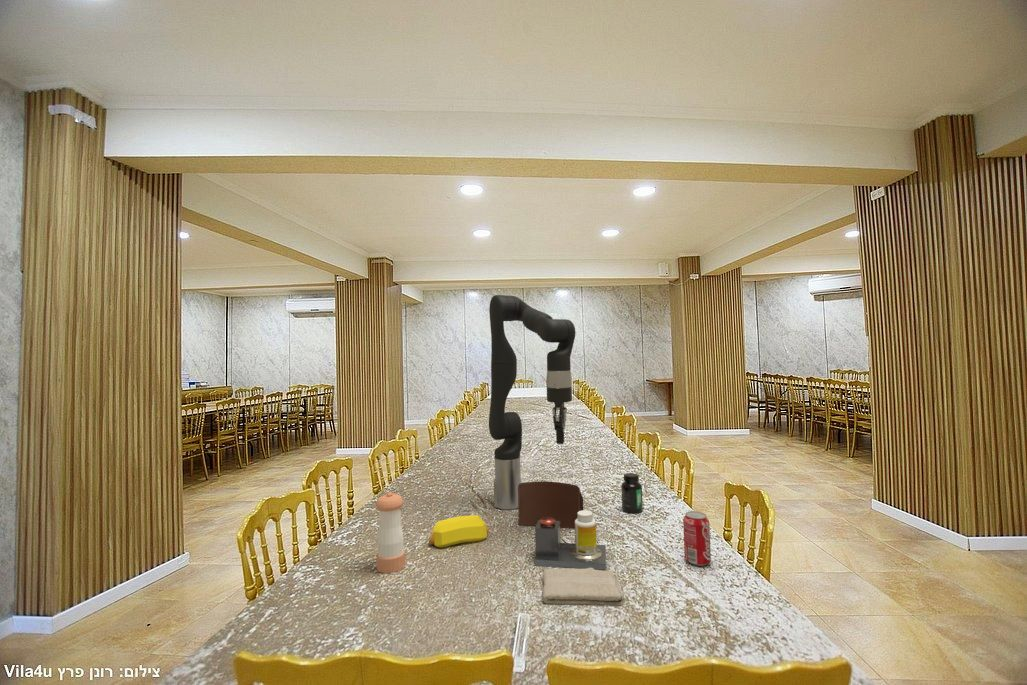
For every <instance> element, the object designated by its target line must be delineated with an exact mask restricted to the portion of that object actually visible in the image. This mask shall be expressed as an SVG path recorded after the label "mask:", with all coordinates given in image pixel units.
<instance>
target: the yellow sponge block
mask: <svg viewBox="0 0 1027 685" xmlns="http://www.w3.org/2000/svg"><path fill="white" fill-rule="evenodd" d="M489 532H490V529H489V528H488V526H487V525H486V522H485V521H484V520H483V519H482V518H481V517H480V516H479V515H478V514H476V515H474V514H473V515H472V514H471V515H461V516H455V517H450V518H447V519H442V520H438V521H437V522H436V524H435V525H434V526H433V527H432V535H430V537H429V540H428V541H429V543H430V544H431V545H434V546H435V547H437V548H447V547H450V546H454V545H457V544H461V543H462V544H463V543H471V542H472V543H473V542H478V541H479V542H480V541H483V540H485V539H486V538H487V537H488V534H489Z"/></svg>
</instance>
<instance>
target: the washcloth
mask: <svg viewBox="0 0 1027 685" xmlns="http://www.w3.org/2000/svg"><path fill="white" fill-rule="evenodd" d="M541 577H542V581H543V586H542V601H543V603H544V604H545V603H547V604H546V605H577V606H578V605H585V606H586V605H591V606H594V605H597V604H598V605H599V604H600V605H601V606H603V605H604V606H623V597H624V596H625V593H624V592H623V591H622V587H621V583H620V579H619V575H618V574H616V573H614V571H613V570H598V569H593V568H587V569H582V568H567V567H563V568H553V567H552V568H547V569H545V570H543V572H542V576H541ZM549 603H551V604H549ZM598 605H597V606H598Z"/></svg>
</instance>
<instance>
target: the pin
mask: <svg viewBox="0 0 1027 685" xmlns="http://www.w3.org/2000/svg"><path fill="white" fill-rule="evenodd" d="M540 524H541V525H542V526H543V527H553V525H555V519H554V518H552V517H543V518H541V519H540Z"/></svg>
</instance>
